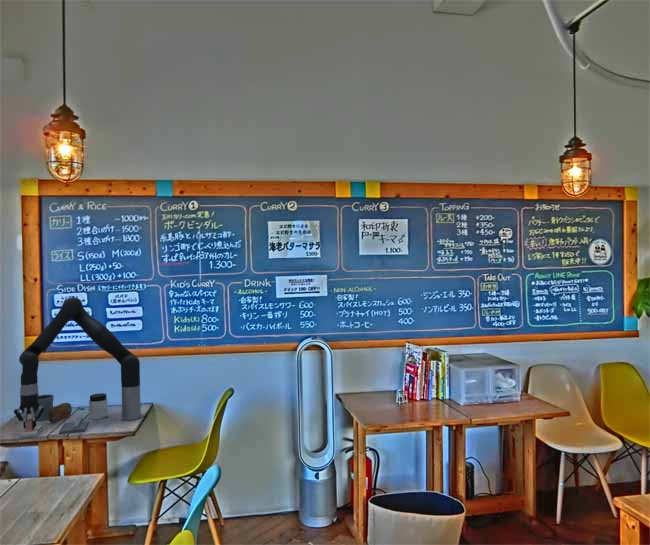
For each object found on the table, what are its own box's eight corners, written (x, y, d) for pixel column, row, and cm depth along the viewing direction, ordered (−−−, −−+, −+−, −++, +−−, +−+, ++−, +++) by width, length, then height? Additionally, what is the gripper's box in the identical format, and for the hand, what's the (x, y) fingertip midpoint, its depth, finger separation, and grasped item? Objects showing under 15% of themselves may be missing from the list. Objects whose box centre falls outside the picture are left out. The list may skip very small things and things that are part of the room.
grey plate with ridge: (88, 423, 252) (88, 416, 252) (84, 432, 238) (84, 424, 238) (64, 425, 248) (64, 419, 248) (59, 434, 234) (59, 427, 234)
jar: (99, 419, 258) (99, 397, 258) (86, 419, 259) (85, 396, 259) (110, 415, 266) (110, 393, 267) (97, 414, 268) (96, 392, 268)
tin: (51, 424, 251) (51, 408, 251) (46, 424, 252) (46, 408, 252) (72, 416, 266) (72, 400, 266) (67, 416, 266) (67, 400, 266)
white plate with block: (43, 428, 244) (43, 415, 244) (37, 435, 232) (37, 422, 232) (27, 430, 241) (27, 417, 242) (20, 437, 230) (20, 424, 230)
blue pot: (55, 415, 268) (55, 393, 268) (51, 420, 258) (51, 398, 258) (34, 417, 265) (34, 395, 265) (29, 422, 255) (29, 399, 255)
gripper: (47, 389, 242) (47, 424, 242) (15, 392, 238) (15, 428, 238) (43, 393, 235) (44, 429, 235) (10, 396, 231) (11, 432, 231)
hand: (29, 428), depth 237 cm, fingers closed on white plate with block, 2 cm apart
